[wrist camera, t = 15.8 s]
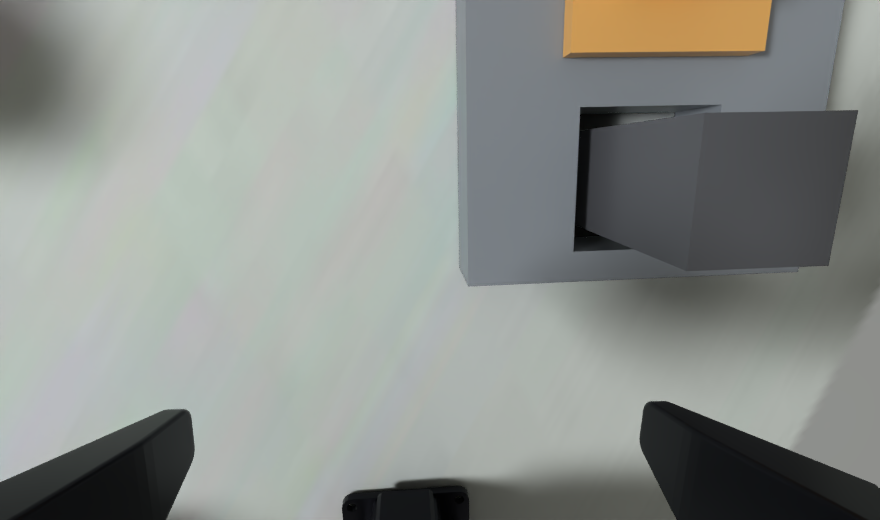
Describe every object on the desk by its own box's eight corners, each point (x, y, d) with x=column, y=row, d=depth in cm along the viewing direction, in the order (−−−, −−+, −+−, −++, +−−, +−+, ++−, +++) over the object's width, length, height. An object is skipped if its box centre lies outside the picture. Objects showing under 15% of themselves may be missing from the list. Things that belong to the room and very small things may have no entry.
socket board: (744, 255, 21) (798, 271, 18) (459, 267, 20) (468, 286, 18) (795, -103, 18) (870, -153, 15) (454, -107, 17) (463, -162, 14)
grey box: (658, 130, 20) (858, 110, 11) (650, 218, 21) (828, 265, 12) (570, 131, 19) (705, 112, 11) (566, 221, 20) (686, 270, 12)
